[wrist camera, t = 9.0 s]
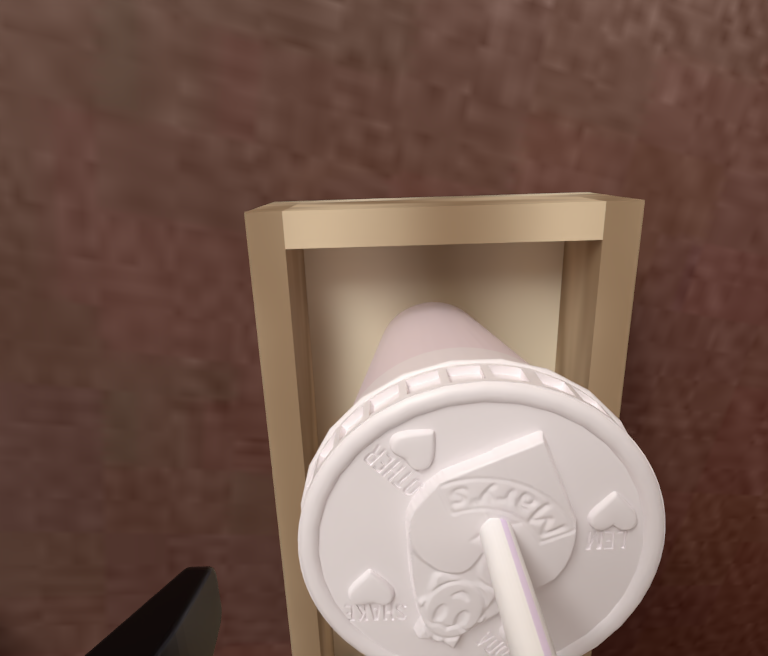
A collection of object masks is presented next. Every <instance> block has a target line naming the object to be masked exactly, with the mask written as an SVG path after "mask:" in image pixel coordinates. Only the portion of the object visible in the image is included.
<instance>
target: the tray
mask: <svg viewBox="0 0 768 656" xmlns="http://www.w3.org/2000/svg"><path fill="white" fill-rule="evenodd" d="M644 203H645V200H640V199H633V198H626V197H618V196H611V195H604V194H597V193H590V192H580V193H547V194H515V195H482V196H449V197H417V198H384V199H352V200H319V201H286V202H273V203H270V204H267V205H264V206H261V207H258V208H256V209H253V210H250V211H247V212H244V216H245V225H246V235H247V244H248V253H249V262H250V271H251V280H252V290H253V299H254V308H255V317H256V326H257V335H258V345H259V354H260V363H261V372H262V381H263V391H264V400H265V409H266V418H267V427H268V436H269V446H270V455H271V464H272V473H273V482H274V491H275V501H276V510H277V519H278V528H279V537H280V547H281V556H282V565H283V574H284V583H285V592H286V602H287V611H288V620H289V629H290V638H291V647H292V656H365V655H364V654H362V653H361V652H359V651H358V650H356V649H355V648H354V647H353V646H351V645H350V644H349V643H347V642H346V641H345V640H344V639H343V638H342V637H341V636H340V635H339V634H338V633H337V632H335V630H334V629H333V628H332V627H331V626H330V625H329V624H328V622H327V621H326V620H325V619H324V617H323V616H322V614H321V613H320V612H319V610H318V609H317V607H316V605H315V603H314V602H313V600H312V598H311V596H310V594H309V591H308V589H307V587H306V584H305V582H304V578H303V575H302V571H301V567H300V561H299V555H298V528H299V521H300V515H301V501H302V496H303V491H304V487H305V482H306V477H307V473H308V468H309V465H310V463H311V461H312V459H313V458H314V456H315V454H316V452H317V451H318V449H319V447H320V445H321V443H322V442H323V440H324V438H325V436H326V435H327V433H328V431H329V429H330V428H331V427H332V426H333V425H334V424H335V423H336V422H337V421H338V420H339V419H340V418H341V417H342V416H343V415H344V414H345V413H346V412H347V411H348V410H349V409H350V408H351V407H352V406H353V404H354V402H355V400H356V397H357V395H358V392H359V390H360V388H361V385H362V383H363V381H364V378H365V376H366V373H367V371H368V369H369V366H370V364H371V362H372V359H373V357H374V355H375V352H376V350H377V347H378V345H379V343H380V340H381V338H382V336H383V333H384V331H385V329H386V328H387V326H388V325H389V323H390V322H391V321H392V320H393V319H394V318H395V317H396V316H397V315H398V314H400V313H401V312H402V311H404V310H406V309H407V308H409V307H412V306H414V305H417V304H421V303H427V302H440V303H446V304H450V305H453V306H455V307H458V308H459V309H461V310H463V311H464V312H466V313H467V314H468V315H470V316H471V317H472V318H473V319H474V320H476V321H477V322H478V323H479V324H481V325H482V326H483V327H484V328H486V329H487V330H488V331H489V332H490V333H492V334H493V335H494V336H495V337H497V338H498V339H499V340H500V341H502V342H503V343H504V344H505V345H506V346H508V347H509V348H510V349H511V350H513V351H514V352H515V353H516V354H518V355H519V356H520V357H521V358H522V359H524V360H525V361H526V362H527V363H529V364H530V365H533V366H538V367H542V368H547V369H549V370H551V371H553V372H555V373H557V374H559V375H561V376H563V377H565V378H567V379H568V380H570V381H572V382H574V383H576V384H578V385H580V386H582V387H584V388H586V389H588V390H589V391H590V392H591V393H592V394H594V395H595V396H596V397H597V398H598V399H599V400H600V401H601V402H602V403H603V404H604V405H605V406H606V407H607V408H608V409H609V410H610V411H611V412H612V413H613V414H614V415H615V416H616V417H617V418H618V419H619V415H620V407H621V398H622V390H623V381H624V373H625V364H626V356H627V347H628V339H629V330H630V322H631V313H632V305H633V297H634V288H635V280H636V271H637V263H638V254H639V246H640V237H641V229H642V220H643V212H644ZM591 652H592V650H590V651H589V652H587V653H585V654H584V655H582V656H591Z"/></svg>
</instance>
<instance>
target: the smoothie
mask: <svg viewBox="0 0 768 656" xmlns="http://www.w3.org/2000/svg"><path fill="white" fill-rule="evenodd" d="M664 538H665V510H664V503H663V498H662V494H661V490H660V487H659V483H658V481H657V478H656V476H655V474H654V471H653V469H652V467H651V465H650V464H649V462H648V460H647V458H646V457H645V455H644V454H643V452H642V451H641V449H640V448H639V447H638V445H637V444H636V443H635V441H634V440H633V439H632V438H631V437H630V436H629V435H628V433H627V432H626V430H625V428H624V426H623V424H622V422H621V421H620V420H619V419H618V418H617V417H616V416H615V415H614V414H613V413H612V412H611V411H610V410H609V409H608V408H607V407H606V406H605V405H604V404H603V403H602V402H601V401H600V400H599V399H598V398H597V397H596V396H595V395H594V394H592V393H591V392H590V391H589V390H588V389H586V388H584V387H582V386H580V385H578V384H576V383H574V382H572V381H570V380H568V379H567V378H565V377H563V376H561V375H559V374H557V373H555V372H553V371H551V370H549V369H547V368H542V367H538V366H533V365H530V364H529V363H527V362H526V361H525V360H524V359H522V358H521V357H520V356H519V355H518V354H516V353H515V352H514V351H513V350H511V349H510V348H509V347H508V346H506V345H505V344H504V343H503V342H502V341H500V340H499V339H498V338H497V337H495V336H494V335H493V334H492V333H490V332H489V331H488V330H487V329H486V328H484V327H483V326H482V325H481V324H479V323H478V322H477V321H476V320H474V319H473V318H472V317H471V316H470V315H468V314H467V313H466V312H464V311H463V310H461V309H459V308H458V307H455V306H453V305H450V304H446V303H440V302H427V303H421V304H417V305H414V306H412V307H409V308H407V309H406V310H404V311H402V312H401V313H400V314H398V315H397V316H396V317H395V318H394V319H393V320H392V321H391V322H390V323H389V325H388V326H387V328H386V329H385V331H384V333H383V336H382V338H381V340H380V343H379V345H378V347H377V350H376V352H375V355H374V357H373V359H372V362H371V364H370V366H369V369H368V371H367V373H366V376H365V378H364V381H363V383H362V385H361V388H360V390H359V392H358V395H357V397H356V400H355V402H354V404H353V406H352V407H351V408H350V409H349V410H348V411H347V412H346V413H345V414H344V415H343V416H342V417H341V418H340V419H339V420H338V421H337V422H336V423H335V424H334V425H333V426H332V427H331V428H330V429H329V431H328V433H327V435H326V436H325V438H324V440H323V442H322V443H321V445H320V447H319V449H318V451H317V452H316V454H315V456H314V458H313V459H312V461H311V463H310V465H309V468H308V473H307V477H306V482H305V487H304V491H303V496H302V501H301V515H300V521H299V528H298V555H299V561H300V567H301V571H302V575H303V578H304V582H305V584H306V587H307V589H308V591H309V594H310V596H311V598H312V600H313V602H314V603H315V605H316V607H317V609H318V610H319V612H320V613H321V614H322V616H323V617H324V619H325V620H326V621H327V622H328V624H329V625H330V626H331V627H332V628H333V629H334V630H335V632H337V633H338V634H339V635H340V636H341V637H342V638H343V639H344V640H345V641H346V642H347V643H349V644H350V645H351V646H353V647H354V648H355V649H356V650H358V651H359V652H361V653H362V654H364V655H365V656H582V655H584V654H585V653H587V652H589V651H590V650H592V649H594V648H595V647H597V646H598V645H599V644H601V643H602V642H603V641H604V640H605V639H606V638H608V637H609V636H610V635H611V634H612V633H613V632H615V631H616V630H617V629H618V628H619V627H620V626H622V624H623V623H624V622H625V621H626V619H627V618H628V617H629V616H630V615H631V614H632V613H633V611H634V610H635V608H636V607H637V606H638V605H639V603H640V602H641V601H642V599H643V597H644V595H645V594H646V592H647V590H648V589H649V587H650V585H651V583H652V580H653V578H654V576H655V574H656V571H657V568H658V565H659V562H660V560H661V555H662V551H663V546H664Z"/></svg>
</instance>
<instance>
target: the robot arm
mask: <svg viewBox="0 0 768 656" xmlns="http://www.w3.org/2000/svg"><path fill="white" fill-rule="evenodd" d="M221 613H222V610H221V601H220V595H219V589H218V582H217V576H216V572H215V570H214V568H212V567H209V566H206V567H188V568H186V569H185V570H183V571H182V572H181V573H180V574H178V575H177V576H176V577H175V578H174V579H173V580H172V581H170V582H169V583H168V584H167V585H166V586H165V587H163V588H162V589H161V590H160V591H159V592H158V593H157V594H155V595H154V596H153V597H152V598H151V599H150V600H148V601H147V602H146V603H145V604H144V605H143V606H142V607H140V608H139V609H138V610H137V611H136V612H135V613H133V614H132V615H131V616H130V617H129V618H128V619H126V620H125V621H124V622H123V623H122V624H121V625H120V626H118V627H117V628H116V629H115V630H114V631H113V632H111V633H110V634H109V635H108V636H107V637H106V638H105V639H103V640H102V641H101V642H100V643H99V644H98V645H96V646H95V647H94V648H93V649H92V650H91V651H89V652H88V653H87V654H86V655H85V656H213V653H214V649H215V645H216V640H217V636H218V632H219V627H220V623H221Z"/></svg>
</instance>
